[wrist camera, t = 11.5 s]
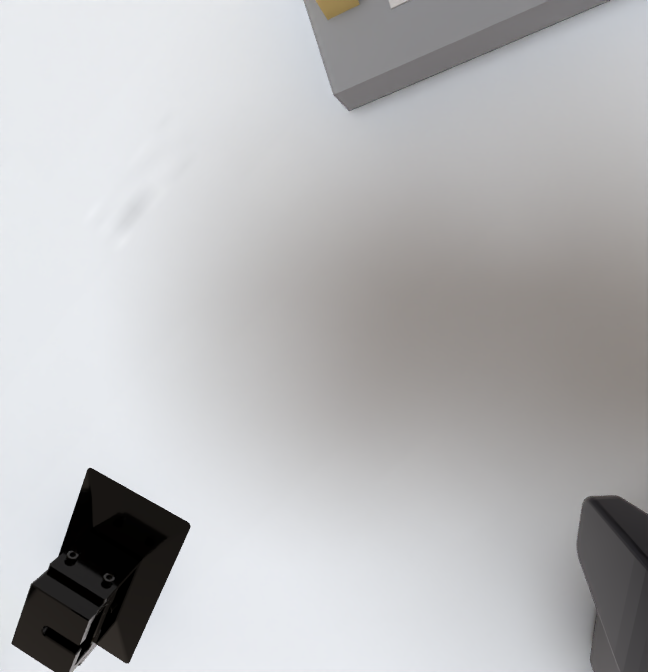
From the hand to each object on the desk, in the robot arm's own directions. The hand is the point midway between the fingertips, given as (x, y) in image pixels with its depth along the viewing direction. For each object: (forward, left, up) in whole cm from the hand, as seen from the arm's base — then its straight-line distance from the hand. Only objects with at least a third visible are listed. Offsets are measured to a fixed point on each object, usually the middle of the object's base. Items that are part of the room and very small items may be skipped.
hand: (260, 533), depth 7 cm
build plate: (+13, +13, -14) cm, 23 cm away
